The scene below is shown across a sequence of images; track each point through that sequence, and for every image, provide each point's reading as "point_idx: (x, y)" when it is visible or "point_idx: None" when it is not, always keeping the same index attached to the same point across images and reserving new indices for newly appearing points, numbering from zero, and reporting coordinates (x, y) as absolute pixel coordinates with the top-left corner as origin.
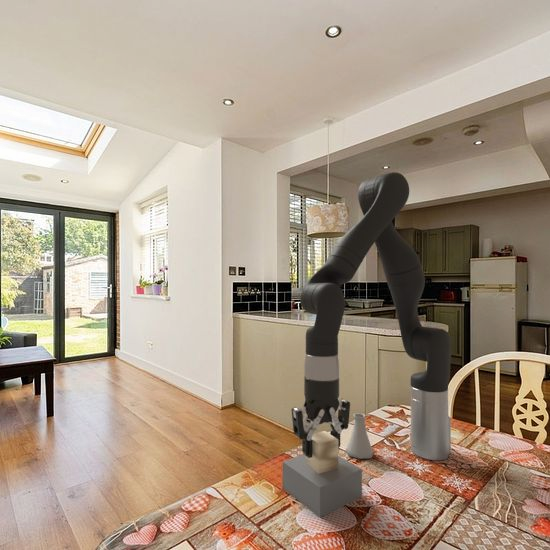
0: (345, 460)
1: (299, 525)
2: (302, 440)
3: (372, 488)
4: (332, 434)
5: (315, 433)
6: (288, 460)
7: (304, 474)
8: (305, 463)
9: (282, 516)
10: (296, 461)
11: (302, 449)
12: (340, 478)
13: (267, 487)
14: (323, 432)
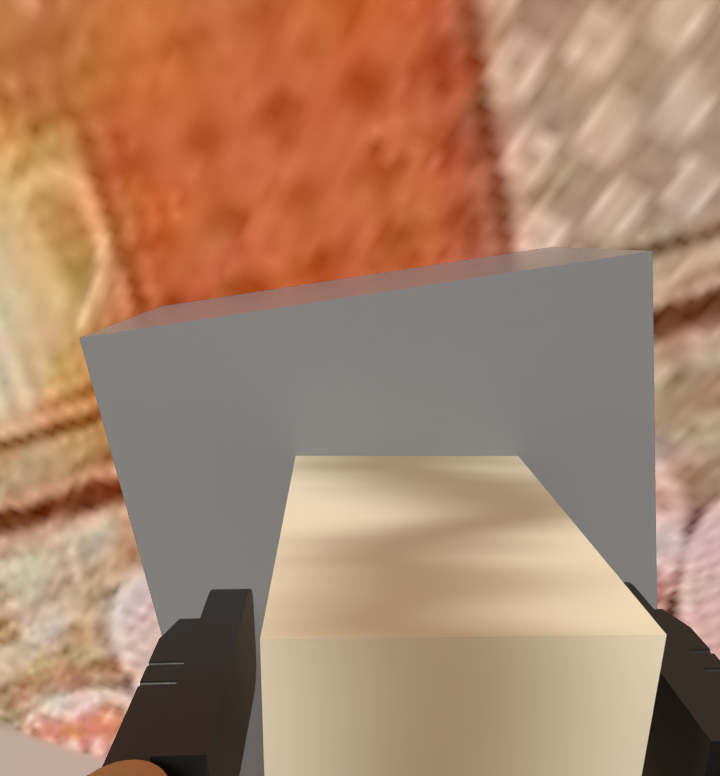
0: (646, 572)
1: (110, 644)
2: (111, 753)
3: (685, 558)
4: (678, 755)
5: (443, 659)
6: (149, 344)
7: (180, 613)
8: (281, 468)
9: (49, 554)
10: (219, 396)
11: (155, 654)
12: None
13: (57, 252)
14: (594, 674)
